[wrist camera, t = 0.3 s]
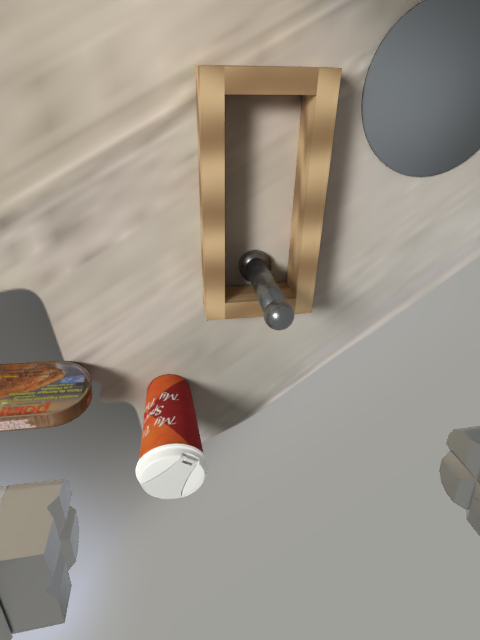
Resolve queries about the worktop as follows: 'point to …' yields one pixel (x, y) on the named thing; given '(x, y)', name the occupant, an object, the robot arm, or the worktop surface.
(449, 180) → the worktop surface
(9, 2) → the worktop surface
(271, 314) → the grey metal rod
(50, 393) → the tin
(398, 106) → the slate mat
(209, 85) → the oak link
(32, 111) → the worktop surface
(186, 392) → the paper cup
